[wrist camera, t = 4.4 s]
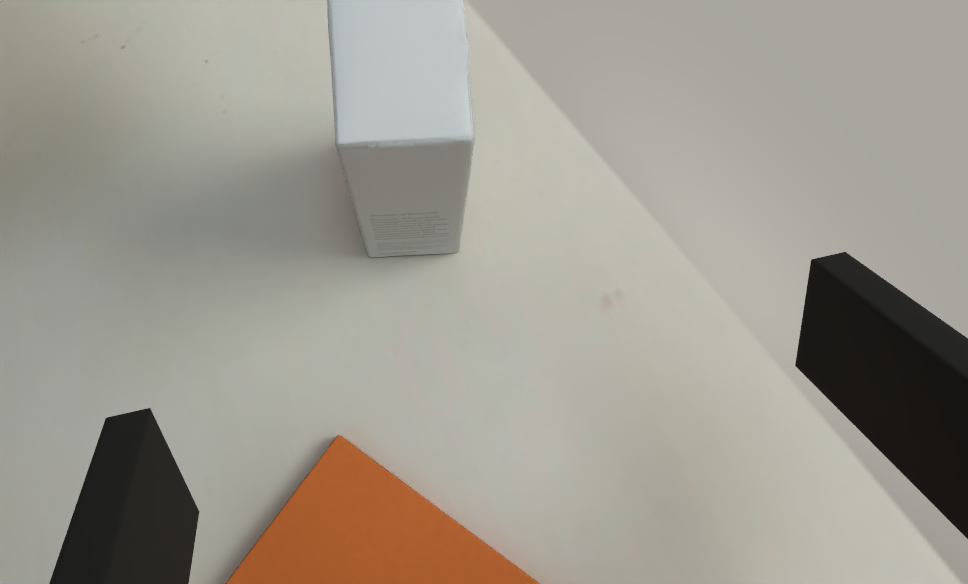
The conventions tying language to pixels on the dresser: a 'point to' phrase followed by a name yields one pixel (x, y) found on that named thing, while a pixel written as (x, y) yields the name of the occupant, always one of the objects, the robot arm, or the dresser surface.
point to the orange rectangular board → (367, 534)
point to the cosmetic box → (403, 120)
